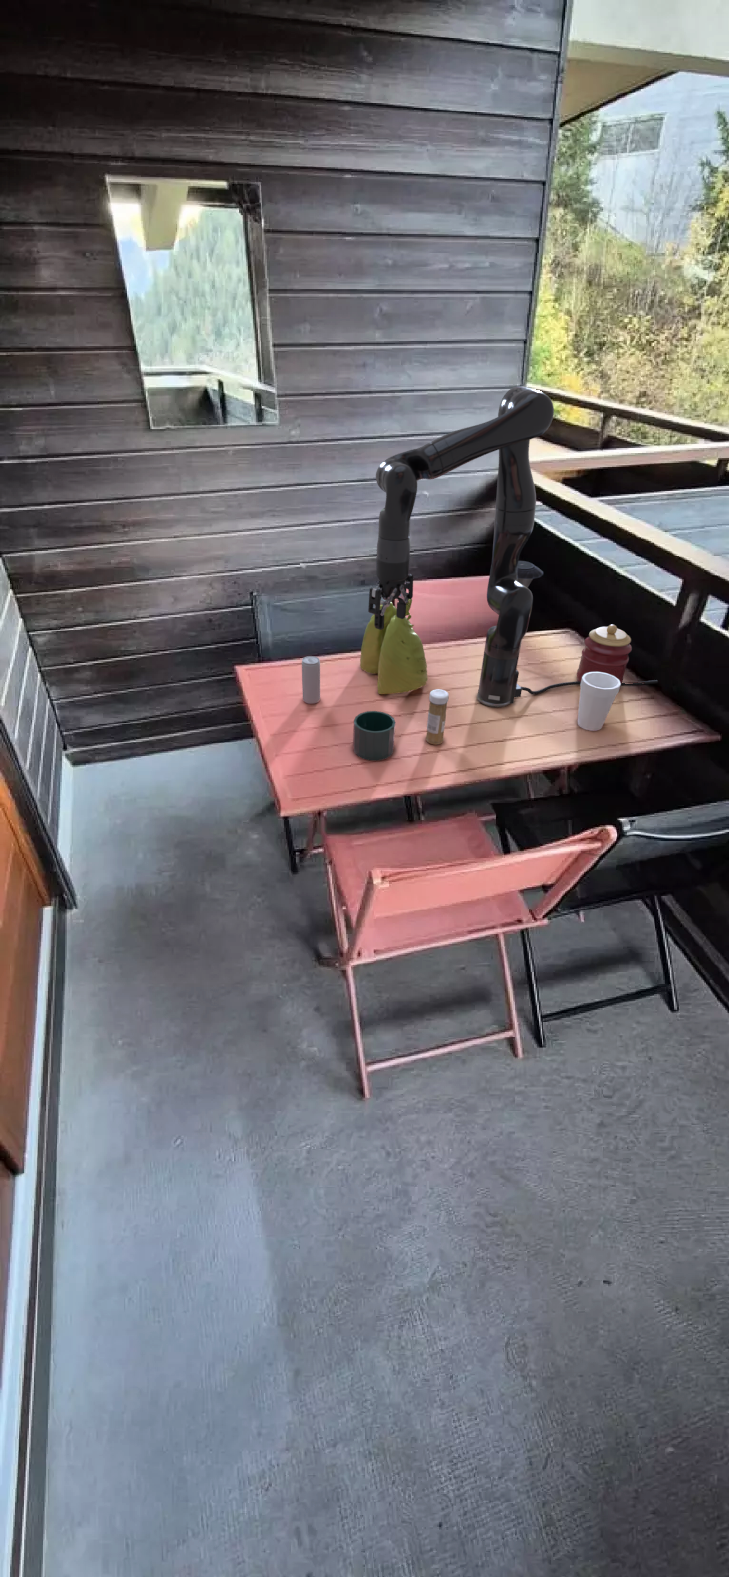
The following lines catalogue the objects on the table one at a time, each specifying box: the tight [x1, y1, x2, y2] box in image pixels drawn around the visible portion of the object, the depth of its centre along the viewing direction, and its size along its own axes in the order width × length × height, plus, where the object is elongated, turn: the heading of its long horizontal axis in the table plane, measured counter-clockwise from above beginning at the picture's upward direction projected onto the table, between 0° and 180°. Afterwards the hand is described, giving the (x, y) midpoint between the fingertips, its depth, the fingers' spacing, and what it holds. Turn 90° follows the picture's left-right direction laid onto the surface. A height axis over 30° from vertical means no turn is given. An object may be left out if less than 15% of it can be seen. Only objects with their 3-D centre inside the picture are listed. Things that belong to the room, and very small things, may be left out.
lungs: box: [359, 598, 428, 695], centre depth 194 cm, size 25×16×24 cm, turn 18°
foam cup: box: [577, 672, 621, 732], centre depth 180 cm, size 10×9×13 cm
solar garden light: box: [517, 560, 544, 589], centre depth 203 cm, size 12×12×30 cm
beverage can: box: [301, 655, 321, 705], centre depth 186 cm, size 5×5×12 cm
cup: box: [352, 710, 396, 762], centre depth 169 cm, size 10×10×8 cm
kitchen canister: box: [576, 624, 633, 684], centre depth 198 cm, size 13×13×18 cm
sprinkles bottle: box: [425, 688, 450, 745], centre depth 171 cm, size 5×5×14 cm
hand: (390, 623), depth 168 cm, fingers open, 8 cm apart
